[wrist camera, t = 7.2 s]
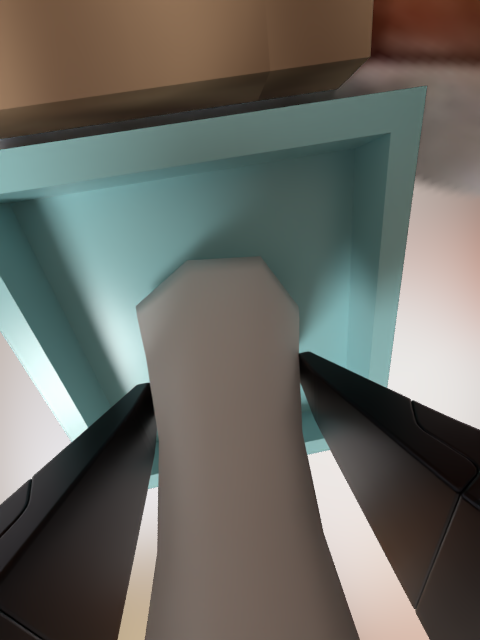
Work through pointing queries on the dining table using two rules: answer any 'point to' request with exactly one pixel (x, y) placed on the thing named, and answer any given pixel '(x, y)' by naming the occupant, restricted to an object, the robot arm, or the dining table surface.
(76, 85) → the frame
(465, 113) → the dining table surface
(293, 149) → the teal tray
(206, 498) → the flask
